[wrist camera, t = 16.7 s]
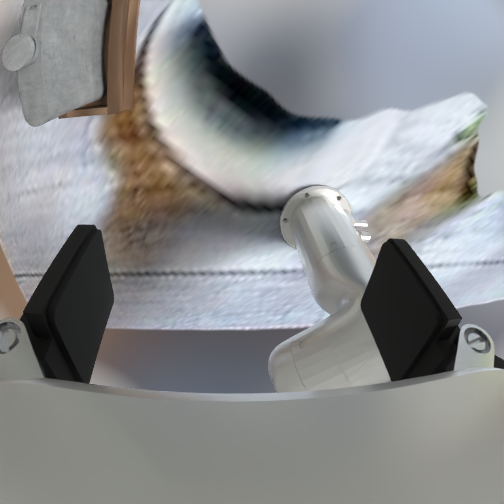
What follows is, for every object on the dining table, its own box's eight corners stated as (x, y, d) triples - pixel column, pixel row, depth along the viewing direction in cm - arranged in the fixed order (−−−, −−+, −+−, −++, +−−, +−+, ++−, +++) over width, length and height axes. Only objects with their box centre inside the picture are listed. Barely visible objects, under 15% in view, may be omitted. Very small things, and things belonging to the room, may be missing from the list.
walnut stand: (142, -18, 29) (135, -24, 26) (133, 108, 40) (125, 113, 37) (67, -5, 28) (55, -8, 25) (63, 114, 39) (51, 119, 36)
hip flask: (107, 98, 38) (36, 131, 22) (83, 100, 38) (5, 136, 21) (112, -3, 29) (41, -31, 13) (86, 1, 29) (7, -18, 12)
